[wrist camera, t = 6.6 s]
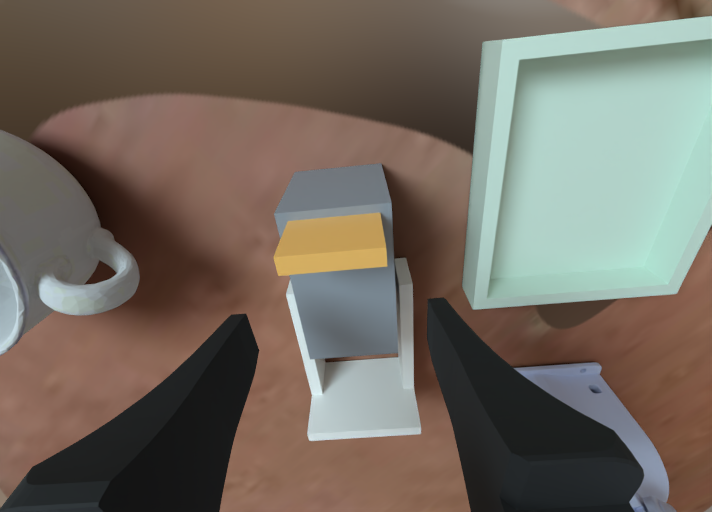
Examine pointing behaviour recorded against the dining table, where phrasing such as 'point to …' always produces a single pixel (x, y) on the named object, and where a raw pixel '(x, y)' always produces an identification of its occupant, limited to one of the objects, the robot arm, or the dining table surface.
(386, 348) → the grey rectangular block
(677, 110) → the tray
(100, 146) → the dining table surface
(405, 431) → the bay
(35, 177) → the teacup
